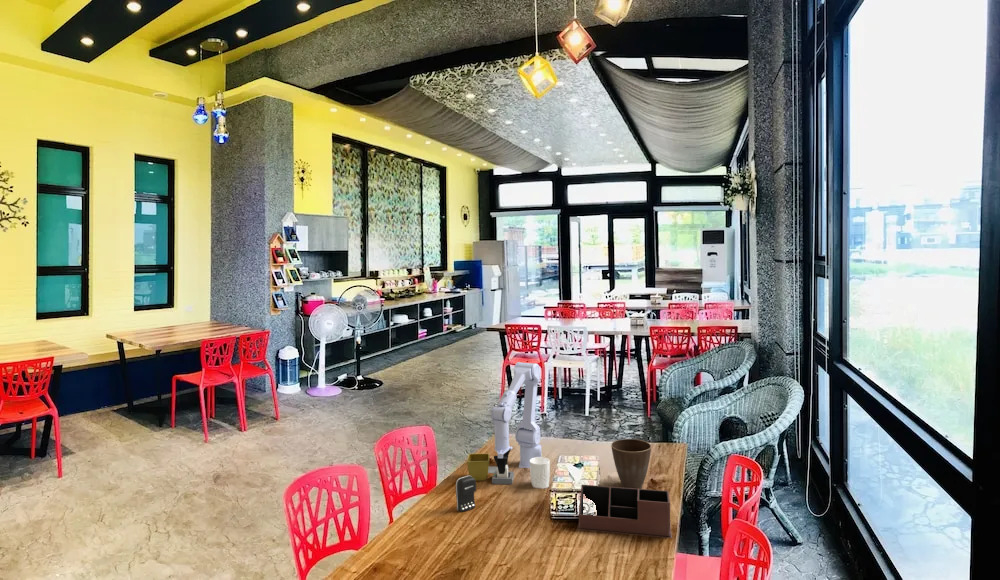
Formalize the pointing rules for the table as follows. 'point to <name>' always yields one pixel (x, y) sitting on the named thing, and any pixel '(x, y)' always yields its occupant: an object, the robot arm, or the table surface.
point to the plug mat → (493, 469)
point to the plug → (503, 474)
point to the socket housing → (503, 480)
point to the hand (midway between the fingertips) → (503, 469)
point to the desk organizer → (627, 511)
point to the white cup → (540, 472)
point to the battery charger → (465, 493)
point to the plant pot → (631, 461)
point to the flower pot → (478, 466)
